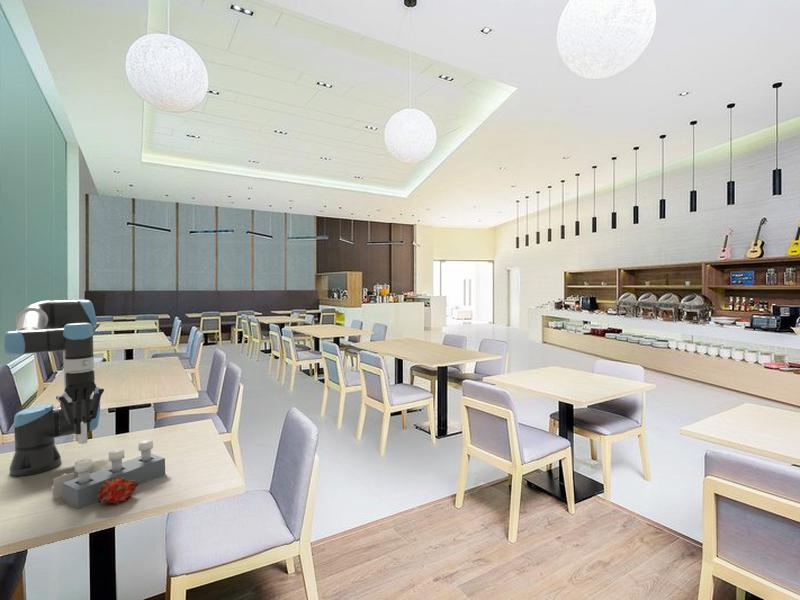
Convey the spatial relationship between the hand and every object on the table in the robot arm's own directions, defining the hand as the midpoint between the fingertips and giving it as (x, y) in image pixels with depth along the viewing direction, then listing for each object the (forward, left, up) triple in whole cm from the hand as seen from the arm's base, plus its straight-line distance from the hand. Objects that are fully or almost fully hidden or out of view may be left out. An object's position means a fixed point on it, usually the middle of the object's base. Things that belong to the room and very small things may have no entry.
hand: (82, 442), depth 139 cm
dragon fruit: (+11, +5, -19) cm, 22 cm away
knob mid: (0, +10, -14) cm, 18 cm away
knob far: (0, +20, -14) cm, 25 cm away
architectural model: (-10, -2, -20) cm, 22 cm away
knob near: (0, 0, -14) cm, 14 cm away
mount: (0, +10, -19) cm, 21 cm away
